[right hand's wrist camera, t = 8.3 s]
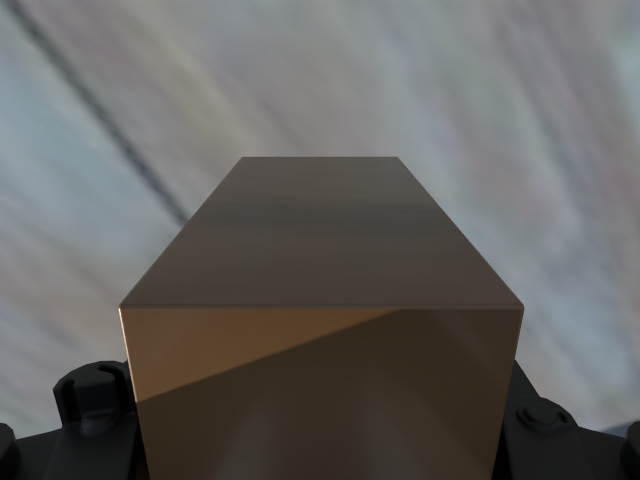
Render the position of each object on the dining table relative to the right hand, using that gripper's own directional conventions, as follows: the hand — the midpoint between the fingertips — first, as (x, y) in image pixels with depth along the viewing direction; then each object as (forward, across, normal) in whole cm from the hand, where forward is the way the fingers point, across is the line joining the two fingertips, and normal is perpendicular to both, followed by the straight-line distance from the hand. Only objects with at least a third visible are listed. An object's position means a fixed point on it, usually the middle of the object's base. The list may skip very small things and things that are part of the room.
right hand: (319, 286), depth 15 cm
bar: (+1, 0, -9) cm, 9 cm away
